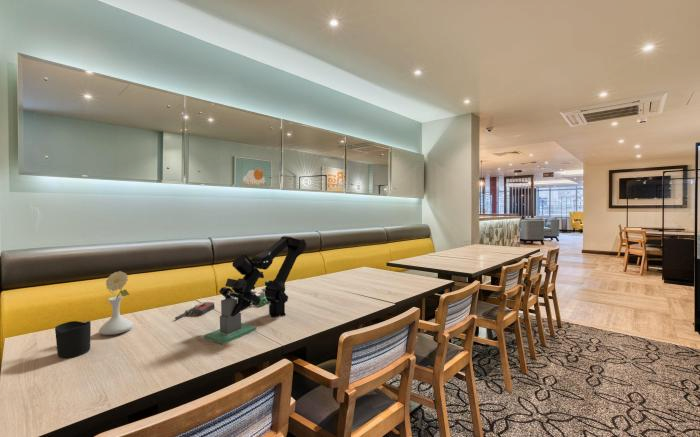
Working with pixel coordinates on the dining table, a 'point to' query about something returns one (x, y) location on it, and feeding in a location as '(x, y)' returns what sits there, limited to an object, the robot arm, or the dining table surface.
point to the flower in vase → (116, 306)
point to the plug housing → (229, 317)
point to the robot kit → (262, 299)
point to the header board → (225, 338)
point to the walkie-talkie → (198, 309)
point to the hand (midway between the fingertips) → (227, 315)
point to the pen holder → (73, 338)
